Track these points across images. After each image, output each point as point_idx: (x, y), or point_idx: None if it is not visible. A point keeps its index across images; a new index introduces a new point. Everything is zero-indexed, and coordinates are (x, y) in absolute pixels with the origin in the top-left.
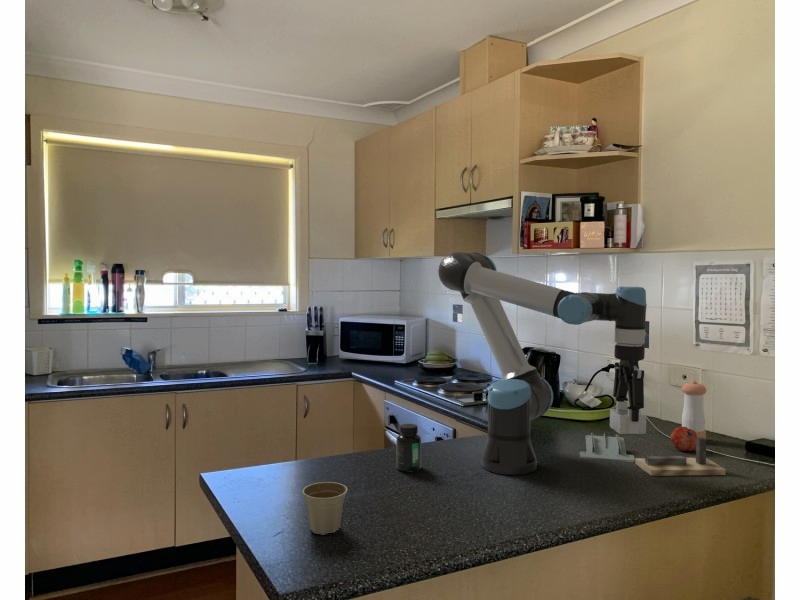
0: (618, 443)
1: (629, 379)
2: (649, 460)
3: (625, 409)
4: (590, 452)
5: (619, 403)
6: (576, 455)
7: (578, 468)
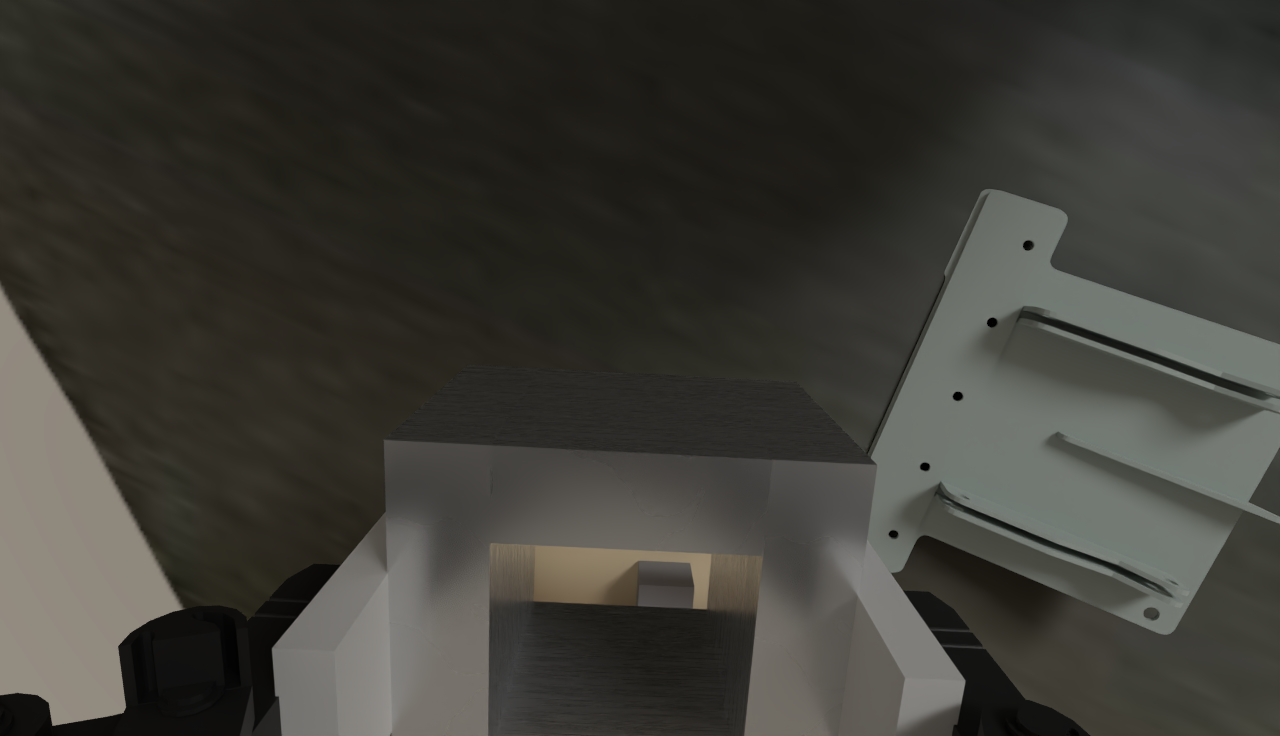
0: (1079, 553)
1: None
2: (638, 586)
3: (786, 700)
4: (1025, 291)
5: (890, 693)
6: (1039, 179)
7: (739, 68)
